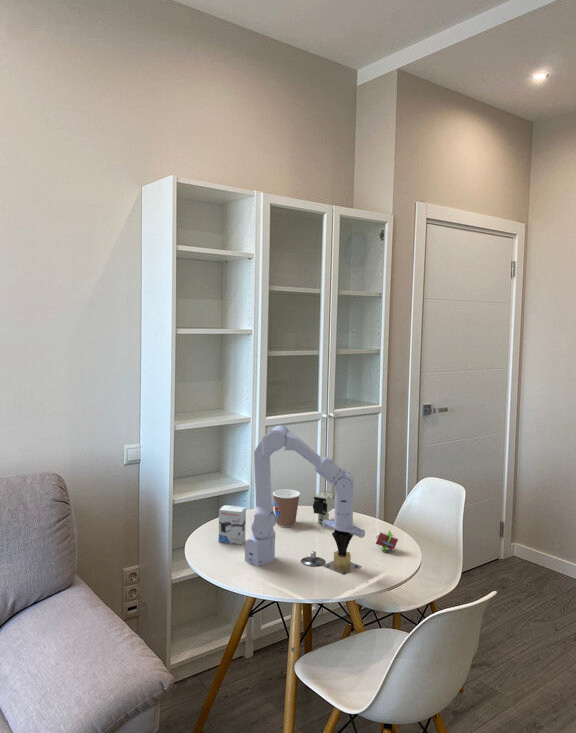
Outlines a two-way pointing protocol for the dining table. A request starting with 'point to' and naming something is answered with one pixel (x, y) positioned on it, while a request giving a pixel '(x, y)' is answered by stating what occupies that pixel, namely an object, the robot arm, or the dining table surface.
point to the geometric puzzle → (386, 540)
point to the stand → (313, 561)
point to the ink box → (232, 524)
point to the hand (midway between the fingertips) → (342, 554)
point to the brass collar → (342, 560)
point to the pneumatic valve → (323, 505)
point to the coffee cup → (286, 507)
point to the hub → (342, 571)
